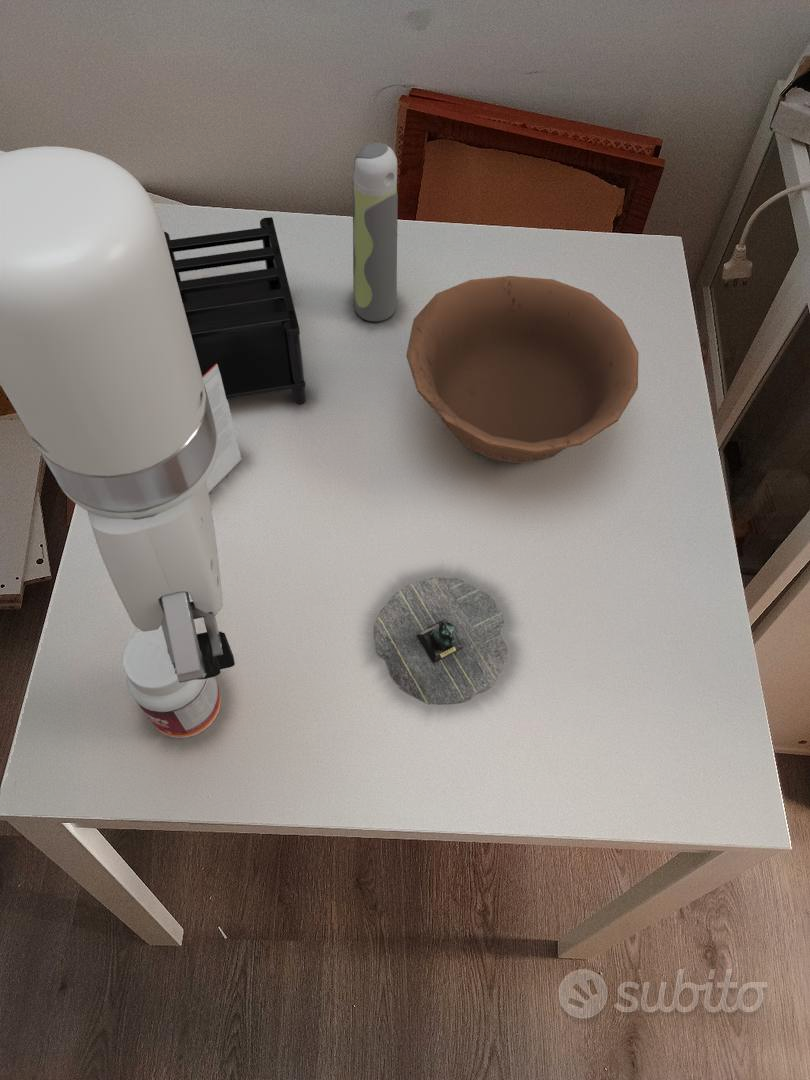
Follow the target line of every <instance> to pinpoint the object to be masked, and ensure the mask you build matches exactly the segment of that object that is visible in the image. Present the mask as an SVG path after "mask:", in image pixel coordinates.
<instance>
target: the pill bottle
mask: <svg viewBox="0 0 810 1080" xmlns="http://www.w3.org/2000/svg"><path fill="white" fill-rule="evenodd" d="M121 664H122V671H123V672H124V674H125V683H126V687H127V691H128V692H129V694H130V695H131V697H132V698H133V700H134V701H135V702H136V704H137V705H138V707H139V708H140V710H141V711H142V712H143V713H144V715H145V716H146V717H147V719H148V720H149V721H150V723H151V724H152V725H153V726H154V727H155V728H156V729H157V730H158V731H159V732H160V733H162V734H163V735H165V736H168V737H171V738H177V739H182V738H189V737H193V736H196V735H198V734H200V733H202V732H204V731H205V730H206V729H207V728H208V727H210V726H211V724H212V723H213V722H214V721H215V719H216V718H217V716H218V714H219V712H220V707H221V703H222V702H221V701H222V697H221V696H222V695H221V691H220V687H219V684H218V681H217V680H216V678H215V677H212V678H207V679H201V680H198V679H195V680H191V681H186V682H182V683H179V681H178V678H177V674H175V669H176V668H175V669H174V665H172V662H171V659H170V656H169V654H168V649H167V644H166V641H165V637H164V633H163V629H162V626H160V628H159V629H158V630H152V631H144V632H143V631H141V630H138V631H137V632H136V633H134V634H133V635H132V636H131V637H130V638H129V640H127V643H126V644H125V646H124V648H123V651H122V656H121Z"/></svg>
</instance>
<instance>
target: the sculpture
mask: <svg viewBox="0 0 810 1080" xmlns="http://www.w3.org/2000/svg"><path fill="white" fill-rule="evenodd" d="M504 624H505V620H504V617H503V614H502V611H501V610H500V609H499V607H498V605H497V604H496V601H494V600H493V599H492V597H491V595H490V594H488V593H486V592H485V591H482V590H481V589H479V588H477V587H474V586H473V585H471V584H469V583H467V582H466V581H463V580H461V579H459V578H457V577H449V578H445V577H444V578H443V577H433V578H430V579H426V580H418V581H415V582H412V583H410V584H408V585H407V586H404V588H403V587H402V588H401V589H400V590H399V591H398V592H396V593H395V594H394V595H393V597H392V598H391V599H389V600H388V602H387V603H386V604H385V606H384V607H383V609H382V610H381V611H380V614H379V615H378V617H377V621H376V623H375V625H374V638H375V639H374V640H375V651H376V653H378V656H379V658H382V659H385V660H386V662H387V667H388V671H389V674H390V675H391V677H392V679H393V680H394V682H395V683H396V684H397V685H398V686H399V689H400V690H402V691H404V692H406V693H407V694H409V695H411V696H413V697H415V698H417V699H419V700H420V701H422V702H423V703H425V704H427V705H431V704H433V705H434V704H437V705H447V704H448V705H450V704H460V703H462V702H467V701H469V700H470V699H472V698H473V697H474V696H475V695H476V694H478V693H483V692H485V691H486V690H488V689H490V688H491V686H492V685H493V684H494V683H495V682H496V680H497V677H498V675H499V673H501V671H502V669H503V668H504V666H505V664H506V662H507V658H508V654H509V653H508V651H509V650H508V647H507V645H506V643H505V641H504V639H503V637H502V635H501V632H500V631H501V630H502V628H503V627H504Z"/></svg>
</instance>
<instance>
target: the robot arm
mask: <svg viewBox="0 0 810 1080" xmlns="http://www.w3.org/2000/svg"><path fill="white" fill-rule="evenodd" d="M164 232H165V231H164V228H163V225H162V222H161V220H160V216H159V213H158V210H157V208H156V206H155V203H154V202H153V200H152V199H151V197H150V195H149V194H148V192H147V191H146V188H145V187H143V185H142V184H141V182H139V181H138V179H137V178H136V177H135V176H133V175H132V174H131V173H130V172H129V171H128V170H127V169H125V168H124V167H123V166H121V165H119V164H118V163H116V162H115V161H113V160H111V159H110V158H108V157H105V156H103V155H100V154H99V153H95V152H92V151H88V150H83V149H79V148H75V147H66V146H52V145H51V146H48V145H45V146H44V145H43V146H33V147H26V148H25V147H24V148H20V149H16V150H11V151H4V150H0V387H1V389H2V391H3V392H4V394H5V395H6V397H7V399H8V400H9V402H10V404H11V405H12V407H13V408H14V410H15V413H16V415H17V416H18V417H19V419H20V421H21V422H22V424H23V425H24V427H25V429H26V430H27V432H28V434H29V436H30V438H31V439H32V441H33V443H34V445H35V446H36V448H37V449H38V451H39V453H40V455H41V456H42V458H43V460H44V462H45V463H46V465H47V467H48V468H49V470H50V471H51V473H52V475H53V477H54V478H55V480H56V483H57V484H58V486H59V487H60V489H61V491H62V492H63V493H64V495H66V497H67V498H69V500H71V501H72V502H73V503H74V504H75V505H77V506H78V507H80V508H81V509H84V510H85V511H87V515H88V520H89V522H90V526H91V529H92V532H93V536H94V539H95V542H96V546H97V548H98V550H99V551H98V552H99V554H100V556H101V558H102V561H103V564H104V566H105V569H106V571H107V573H108V575H109V576H108V577H109V578H110V580H111V582H112V585H113V586H114V589H115V591H116V593H117V595H118V597H119V599H120V601H121V603H122V605H123V607H124V609H125V611H126V613H127V615H128V617H129V619H130V621H131V622H132V624H133V626H135V627H136V629H138V631H140V630H141V631H143V632H144V631H152V630H158V629H159V628H160V626H162V629H163V633H164V637H165V641H166V644H167V649H168V654H169V656H170V659H171V662H172V665H174V669H175V668H176V669H175V674H177V678H178V681H179V683H182V682H186V681H191V680H195V679H198V680H201V679H207V678H212V677H214V678H215V677H217V676H219V675H220V674H221V670H225V669H230V668H233V667H234V666H235V665H236V663H235V662H236V661H235V657H234V653H233V651H232V649H231V646H230V643H229V640H228V638H227V635H226V633H225V632H223V631H220V630H219V626H218V623H217V619H216V616H217V615H218V614H219V613H220V612H221V610H222V609H223V606H224V600H223V591H222V581H221V580H222V579H221V571H220V562H219V553H218V545H217V538H216V537H217V536H216V530H215V524H214V523H215V522H214V517H213V510H212V505H211V499H210V493H209V494H208V489H207V484H206V480H207V478H208V476H209V475H210V473H211V471H212V470H213V467H214V465H215V462H216V458H217V455H218V434H217V430H216V426H215V422H214V418H213V415H212V411H211V407H210V403H209V400H208V396H207V392H206V388H205V385H204V381H203V378H202V374H201V370H200V366H199V363H198V359H197V355H196V351H195V347H194V344H193V340H192V336H191V332H190V329H189V325H188V321H187V317H186V314H185V310H184V306H183V302H182V298H181V295H180V291H179V287H178V283H177V279H176V276H175V272H174V268H173V264H172V261H171V257H170V253H169V249H168V245H167V242H166V238H165V234H164ZM191 600H192V601H191ZM197 619H203V622H204V627H205V630H206V631H205V632H200V633H197V629H196V623H195V620H197Z"/></svg>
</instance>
